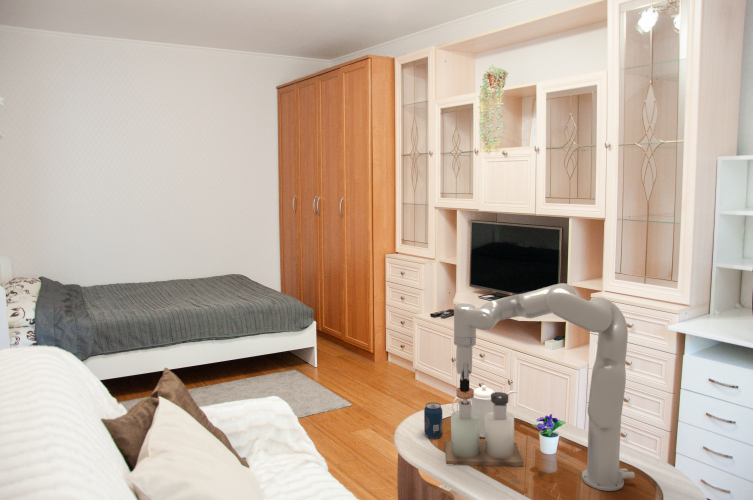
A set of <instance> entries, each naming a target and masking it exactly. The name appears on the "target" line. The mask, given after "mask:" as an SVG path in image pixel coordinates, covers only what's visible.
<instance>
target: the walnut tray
mask: <svg viewBox="0 0 753 500" xmlns="http://www.w3.org/2000/svg"><path fill="white" fill-rule="evenodd" d="M444 453H445V464H453V465H452V466H488V467H489V466H497V467H523V466H524V465H523V464H524V462H523V459H522V456H521V452H520V450H519V447H518V444H517V442H514V454H513V456H512V457H510V458H506V459H498V458H493V457H490V456H489V455H487V454H486V453H485V441H479V454H478V455H477V456H475V457H472V458H461V457H457V456H455V455H454V454H453V453H452V452H451V440H449V441H444Z"/></svg>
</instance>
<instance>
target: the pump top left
mask: <svg viewBox="0 0 753 500" xmlns="http://www.w3.org/2000/svg"><path fill="white" fill-rule="evenodd" d="M494 392H495V393H492V394H491V402H493V403H495V404H497V405H502V404H507V405H508V403H509V395H508V394H507V393H506V392H501V391H494Z"/></svg>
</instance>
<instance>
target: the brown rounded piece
mask: <svg viewBox="0 0 753 500" xmlns="http://www.w3.org/2000/svg"><path fill="white" fill-rule="evenodd" d="M474 390H475V389H473V388H471V387H469V391H460V387H458V388H456V398H457V397H458V399H462V401H463V404H467V401H468V400H470V399H471V398H473V397H474Z"/></svg>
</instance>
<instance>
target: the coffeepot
mask: <svg viewBox="0 0 753 500" xmlns="http://www.w3.org/2000/svg"><path fill="white" fill-rule="evenodd" d="M473 390H474V397H473V398H471V400H470V401H471V411H472V412H475V413H477V414H478V415H479V438H483V439H485V415H486V414H487V413H488V412H491V411H493V402H491V394H492V393H495V392H496V391H494V389H492V388H490V387H487V385H486V384H485V385H484V384H483V385H481V386H480V387H477V388H474V389H473ZM518 393H519V391H517V390H510V391H507V393H506V394H508V396H509V395H510V394H518ZM458 399H459V400H458ZM457 400H458V401H457ZM456 401H457V404H456V409H459V401H463V399H461V398H458V397H457V396H456V397H455V398H454V399H453V401H452V406H451V408H454V404H455V402H456ZM507 406H508V403H507V404H506V410H508V409H507V408H508V407H507ZM454 412H455V410H454V409H452V413H454Z"/></svg>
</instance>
